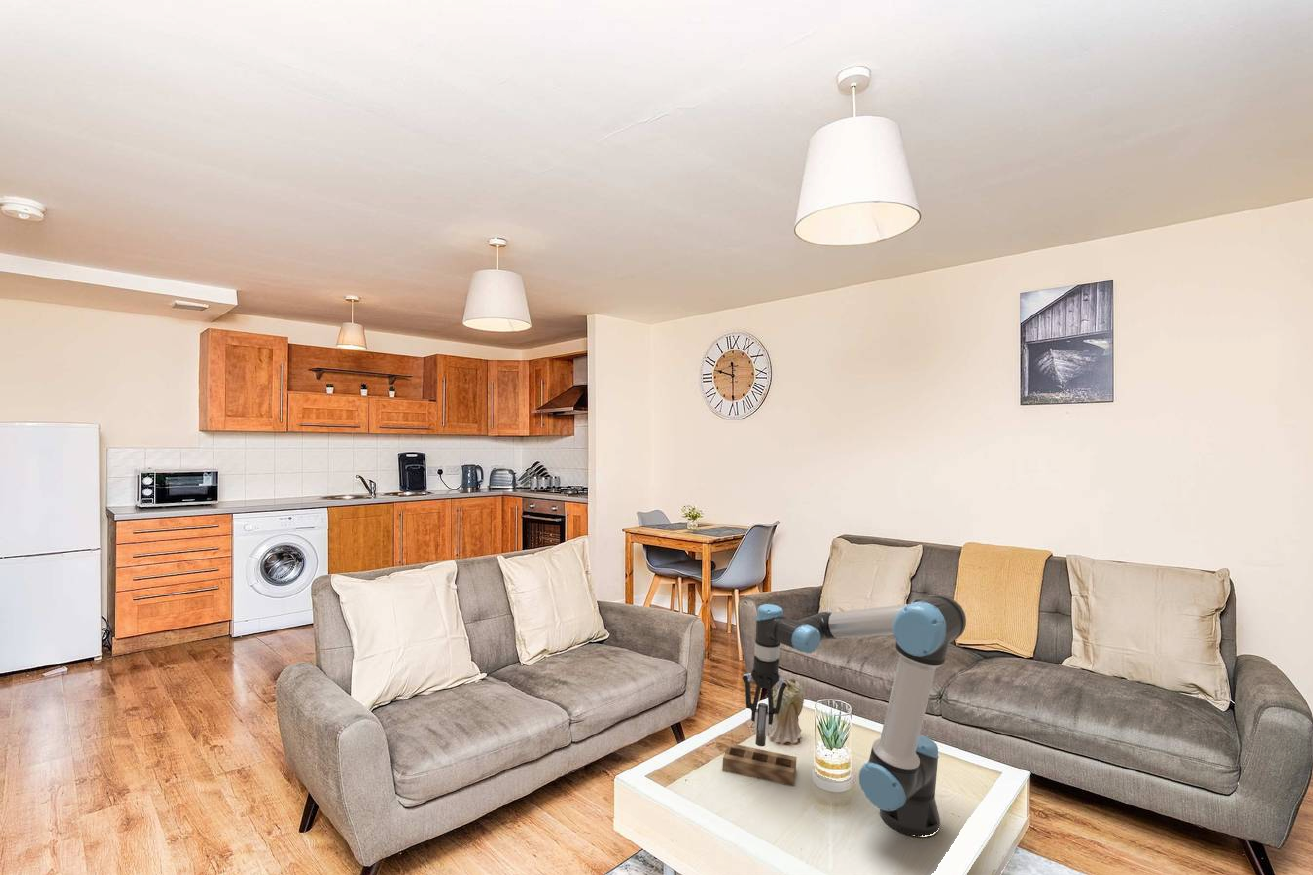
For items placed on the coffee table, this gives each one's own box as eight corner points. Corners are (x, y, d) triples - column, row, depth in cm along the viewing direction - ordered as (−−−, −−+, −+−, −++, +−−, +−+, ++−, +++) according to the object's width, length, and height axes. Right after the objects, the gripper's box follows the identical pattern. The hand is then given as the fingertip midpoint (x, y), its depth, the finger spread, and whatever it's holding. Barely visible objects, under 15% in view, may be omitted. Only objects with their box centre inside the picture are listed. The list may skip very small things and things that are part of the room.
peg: (765, 742, 196) (768, 704, 195) (764, 747, 193) (767, 708, 193) (756, 740, 197) (758, 702, 196) (754, 745, 194) (757, 706, 193)
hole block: (795, 769, 197) (796, 757, 196) (792, 785, 188) (793, 772, 188) (727, 755, 203) (728, 742, 203) (722, 770, 194) (723, 757, 194)
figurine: (769, 725, 224) (773, 668, 222) (803, 732, 220) (807, 675, 219) (763, 741, 212) (767, 682, 211) (799, 749, 208) (804, 689, 207)
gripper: (794, 656, 195) (788, 732, 196) (742, 647, 199) (737, 721, 201) (791, 666, 188) (786, 744, 189) (738, 656, 192) (733, 733, 194)
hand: (761, 732), depth 195 cm, fingers closed on peg, 3 cm apart
